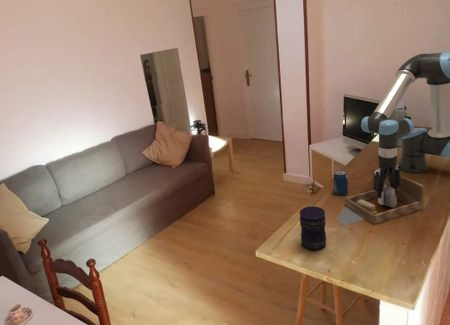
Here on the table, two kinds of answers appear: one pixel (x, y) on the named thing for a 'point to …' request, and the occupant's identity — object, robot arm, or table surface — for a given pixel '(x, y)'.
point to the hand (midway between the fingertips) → (386, 202)
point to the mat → (348, 217)
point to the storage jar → (313, 228)
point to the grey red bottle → (399, 116)
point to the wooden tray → (405, 192)
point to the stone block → (389, 197)
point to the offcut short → (366, 205)
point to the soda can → (340, 182)
